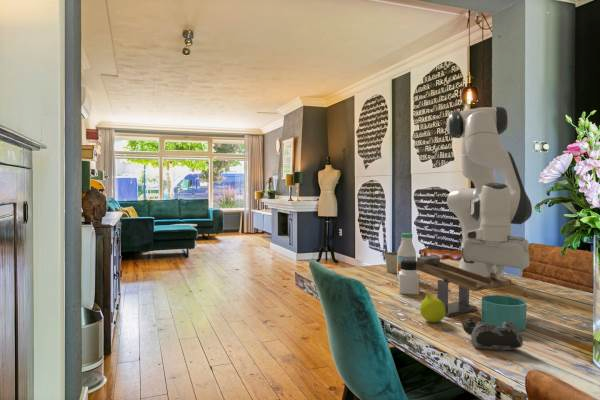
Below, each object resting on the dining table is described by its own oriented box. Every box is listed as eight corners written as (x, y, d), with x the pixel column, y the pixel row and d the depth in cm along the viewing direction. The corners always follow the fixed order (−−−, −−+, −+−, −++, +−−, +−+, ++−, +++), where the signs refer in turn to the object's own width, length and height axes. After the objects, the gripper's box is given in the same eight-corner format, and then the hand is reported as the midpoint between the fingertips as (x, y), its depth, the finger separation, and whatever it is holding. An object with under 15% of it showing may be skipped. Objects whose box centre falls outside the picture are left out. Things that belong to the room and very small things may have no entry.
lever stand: (457, 304, 136) (458, 274, 136) (476, 309, 130) (477, 278, 130) (429, 311, 129) (430, 279, 128) (448, 316, 123) (448, 283, 123)
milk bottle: (393, 279, 174) (393, 232, 174) (408, 278, 177) (408, 232, 177) (404, 283, 167) (405, 234, 167) (419, 281, 170) (420, 233, 170)
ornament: (416, 318, 122) (416, 284, 121) (439, 317, 122) (439, 284, 122) (425, 326, 114) (425, 290, 114) (449, 325, 115) (450, 290, 115)
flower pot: (380, 270, 195) (381, 252, 195) (399, 269, 196) (400, 251, 196) (387, 274, 185) (387, 255, 185) (407, 273, 186) (407, 255, 186)
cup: (496, 316, 123) (496, 293, 123) (533, 326, 114) (534, 302, 114) (473, 322, 117) (473, 298, 117) (511, 334, 108) (512, 308, 108)
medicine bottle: (419, 294, 149) (419, 262, 148) (399, 293, 150) (399, 261, 150) (417, 290, 156) (418, 259, 155) (398, 289, 157) (398, 258, 157)
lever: (451, 266, 147) (453, 252, 147) (510, 285, 129) (512, 270, 129) (415, 271, 137) (417, 257, 137) (473, 294, 119) (476, 277, 118)
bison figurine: (525, 355, 95) (509, 338, 105) (526, 326, 94) (510, 311, 104) (471, 353, 97) (461, 336, 107) (471, 324, 96) (461, 309, 106)
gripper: (534, 237, 121) (533, 283, 121) (472, 231, 138) (472, 272, 138) (522, 238, 118) (522, 286, 118) (460, 232, 135) (460, 274, 135)
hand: (494, 278), depth 128 cm, fingers closed
